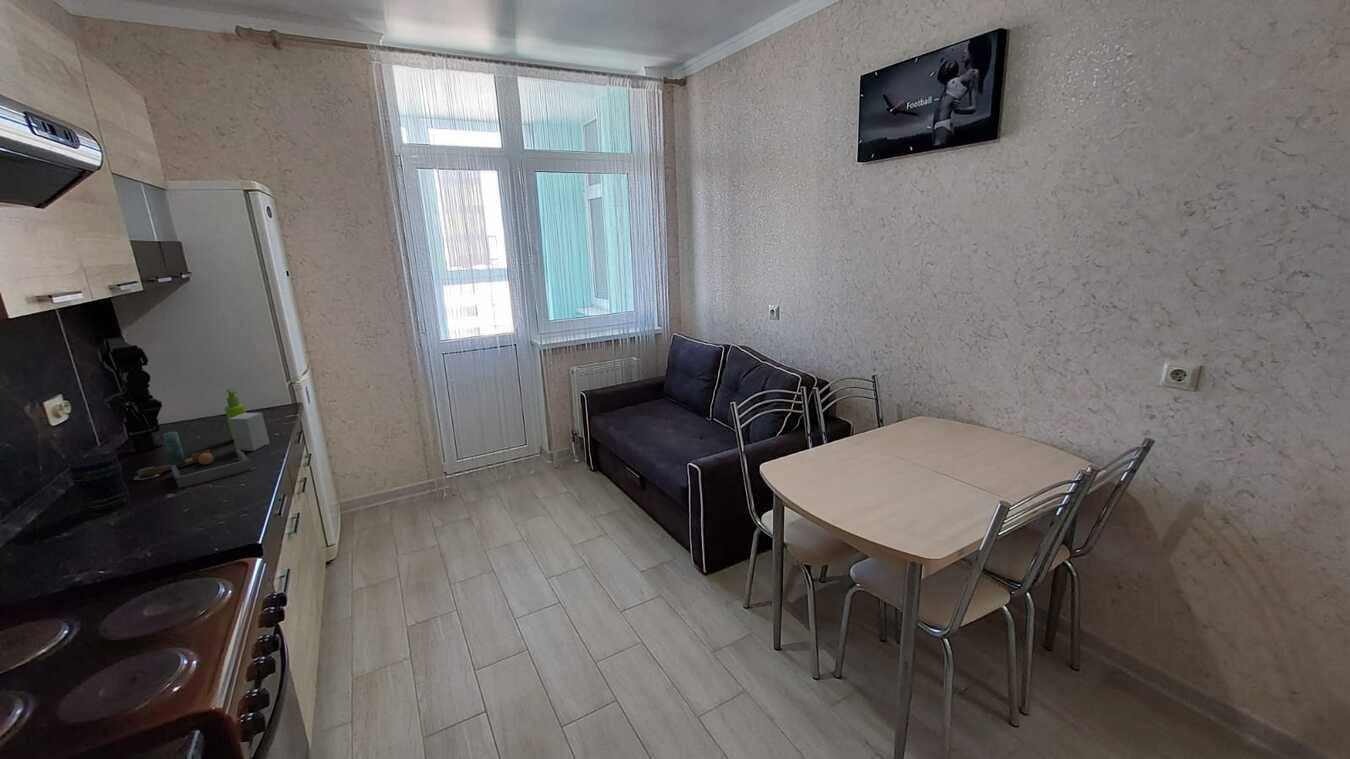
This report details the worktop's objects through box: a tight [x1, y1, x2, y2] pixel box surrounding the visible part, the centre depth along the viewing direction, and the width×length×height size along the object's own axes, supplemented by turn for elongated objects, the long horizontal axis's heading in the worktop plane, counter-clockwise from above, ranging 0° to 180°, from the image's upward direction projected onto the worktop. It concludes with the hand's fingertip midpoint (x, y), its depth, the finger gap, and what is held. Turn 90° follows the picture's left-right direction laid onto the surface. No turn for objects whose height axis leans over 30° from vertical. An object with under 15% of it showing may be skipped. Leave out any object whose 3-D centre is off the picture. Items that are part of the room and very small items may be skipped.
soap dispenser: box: [224, 388, 247, 440], centre depth 207 cm, size 6×7×20 cm
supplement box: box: [227, 412, 270, 452], centre depth 199 cm, size 7×7×13 cm
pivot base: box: [133, 472, 164, 481], centre depth 177 cm, size 7×7×1 cm
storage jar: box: [67, 452, 132, 516], centre depth 155 cm, size 10×10×15 cm
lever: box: [136, 431, 214, 478], centre depth 182 cm, size 19×4×12 cm, turn 148°
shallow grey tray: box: [170, 450, 253, 489], centre depth 178 cm, size 15×18×4 cm
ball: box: [198, 452, 214, 465], centre depth 186 cm, size 4×4×4 cm
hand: (147, 425), depth 188 cm, fingers open, 9 cm apart
